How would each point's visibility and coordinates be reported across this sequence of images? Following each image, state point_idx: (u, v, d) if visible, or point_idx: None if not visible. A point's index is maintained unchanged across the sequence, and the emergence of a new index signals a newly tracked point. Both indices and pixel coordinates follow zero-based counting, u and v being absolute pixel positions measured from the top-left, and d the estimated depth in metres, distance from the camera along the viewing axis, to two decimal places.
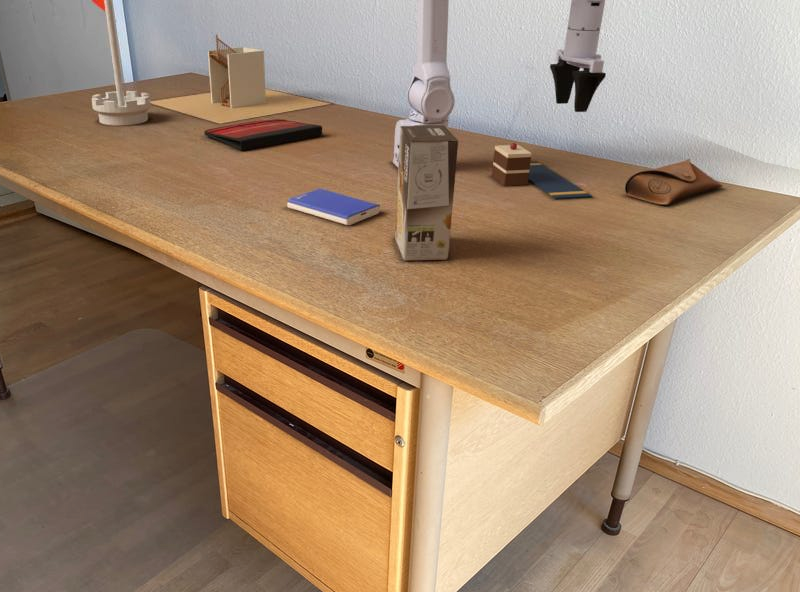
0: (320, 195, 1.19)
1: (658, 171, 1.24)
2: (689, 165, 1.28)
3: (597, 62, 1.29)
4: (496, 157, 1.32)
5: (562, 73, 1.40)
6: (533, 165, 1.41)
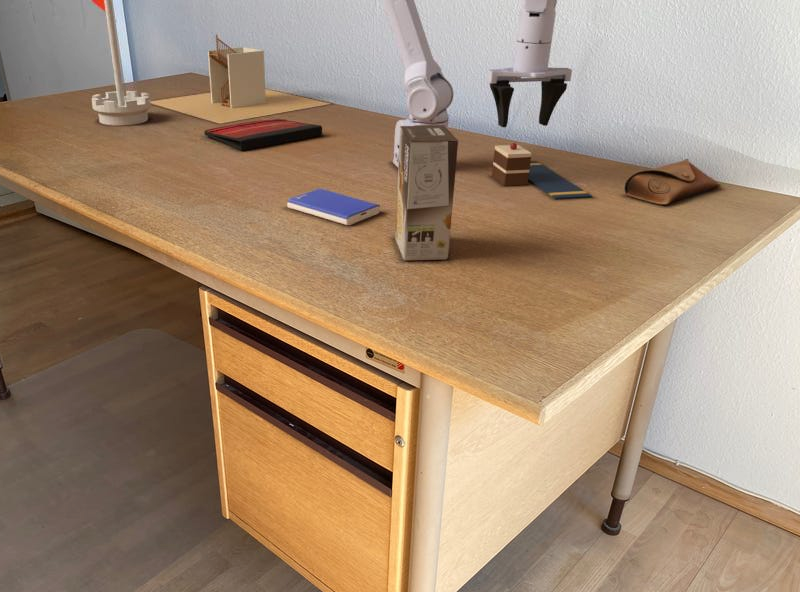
0: (320, 195, 1.19)
1: (657, 171, 1.24)
2: (688, 165, 1.28)
3: (489, 71, 1.24)
4: (496, 157, 1.32)
5: (544, 90, 1.28)
6: (533, 165, 1.41)
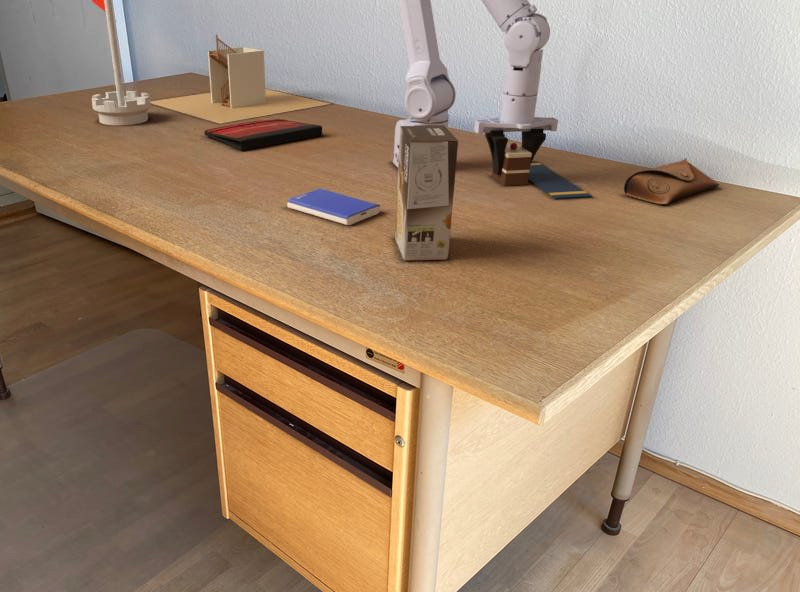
0: (320, 195, 1.19)
1: (657, 171, 1.24)
2: (687, 164, 1.28)
3: (476, 122, 1.27)
4: None
5: (524, 140, 1.31)
6: (533, 165, 1.41)
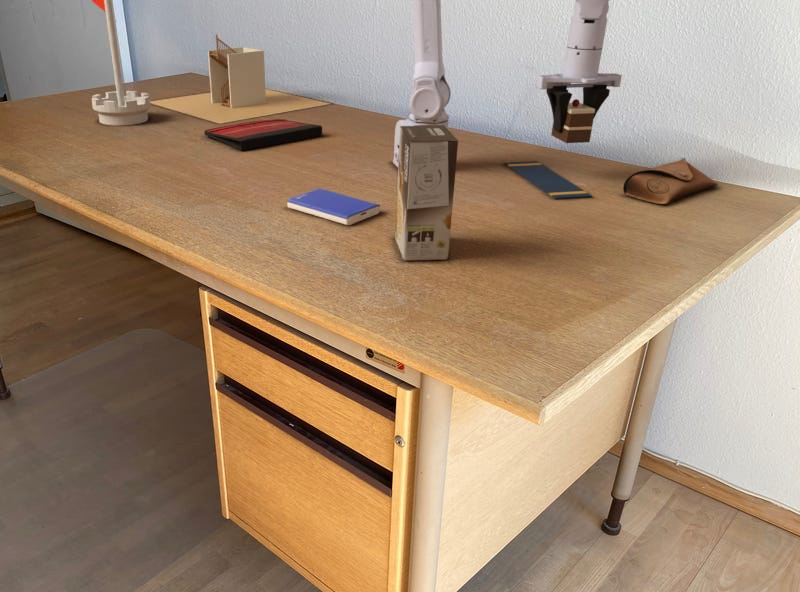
0: (320, 195, 1.19)
1: (656, 170, 1.24)
2: (685, 164, 1.29)
3: (539, 77, 1.25)
4: None
5: (586, 96, 1.29)
6: (533, 165, 1.41)
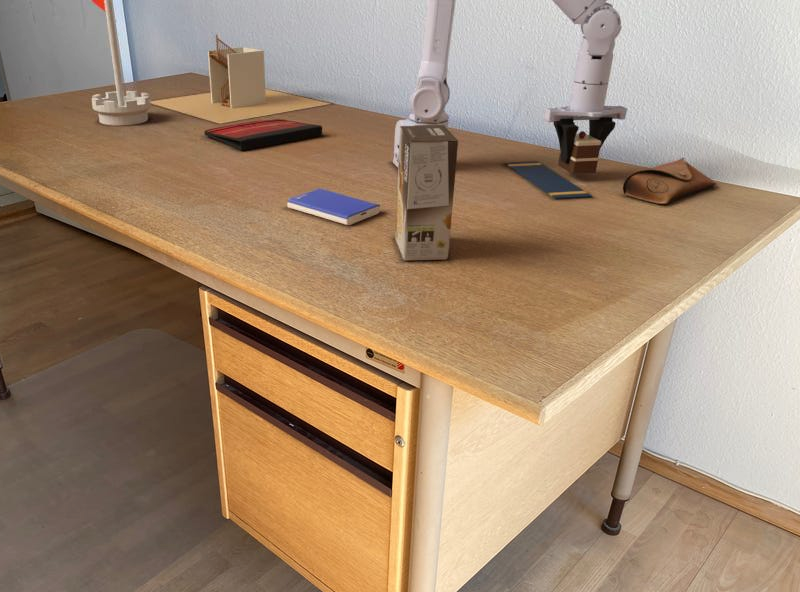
0: (320, 195, 1.19)
1: (655, 170, 1.25)
2: (684, 164, 1.29)
3: (546, 110, 1.28)
4: None
5: (592, 128, 1.32)
6: (533, 165, 1.41)
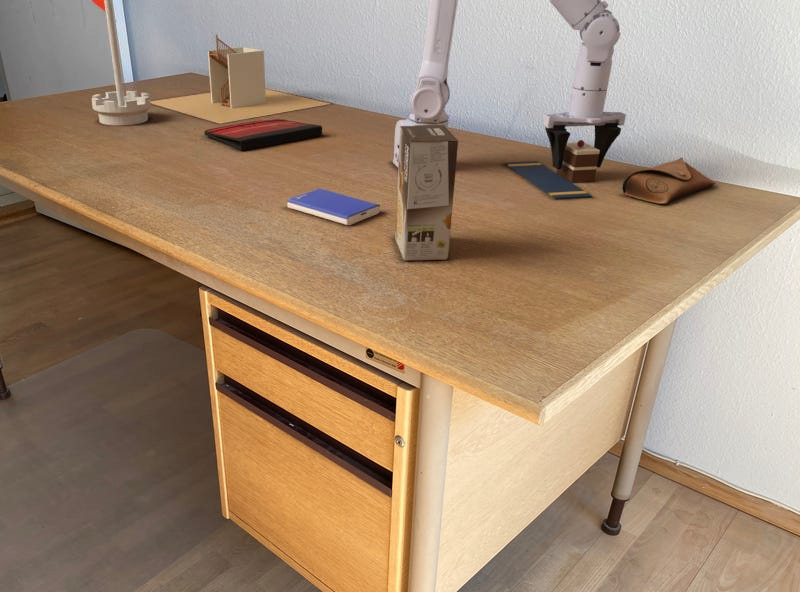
0: (320, 195, 1.19)
1: (655, 170, 1.25)
2: (683, 164, 1.29)
3: (545, 116, 1.29)
4: None
5: (598, 134, 1.33)
6: (533, 165, 1.41)
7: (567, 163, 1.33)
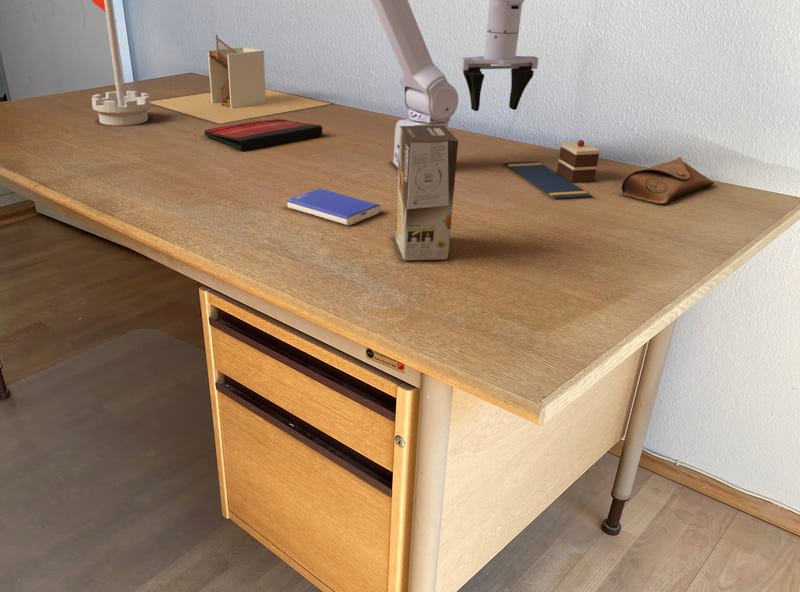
0: (320, 195, 1.19)
1: (654, 170, 1.25)
2: (682, 163, 1.29)
3: (461, 59, 1.36)
4: (562, 154, 1.34)
5: (514, 77, 1.40)
6: (533, 165, 1.41)
7: (567, 163, 1.33)
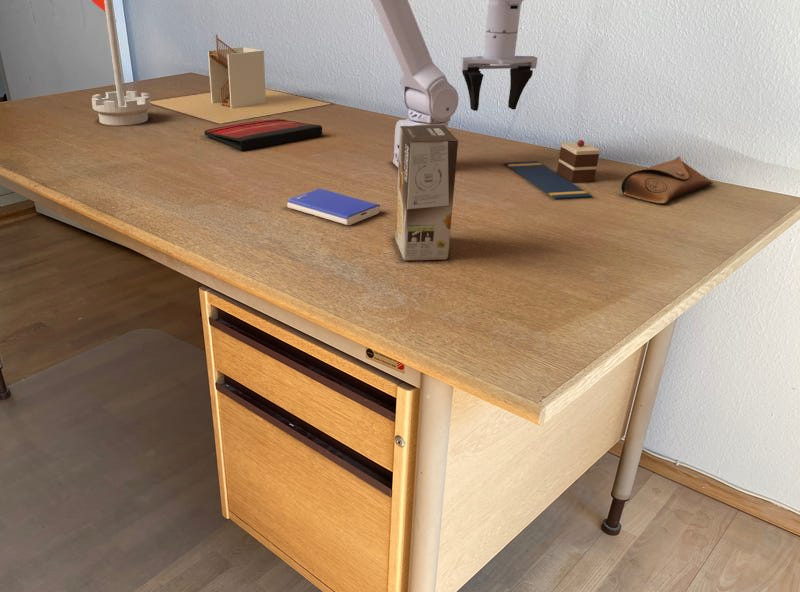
0: (320, 195, 1.19)
1: (653, 170, 1.25)
2: (681, 163, 1.29)
3: (460, 59, 1.36)
4: (562, 154, 1.34)
5: (513, 77, 1.40)
6: (533, 165, 1.41)
7: (567, 163, 1.33)
